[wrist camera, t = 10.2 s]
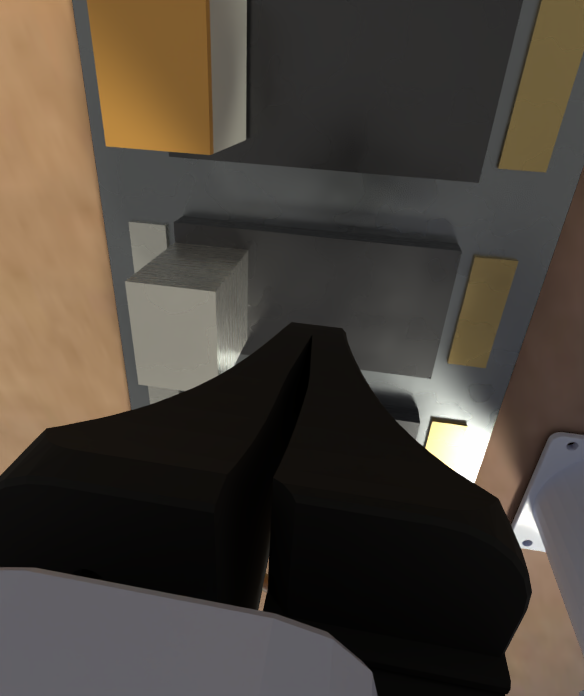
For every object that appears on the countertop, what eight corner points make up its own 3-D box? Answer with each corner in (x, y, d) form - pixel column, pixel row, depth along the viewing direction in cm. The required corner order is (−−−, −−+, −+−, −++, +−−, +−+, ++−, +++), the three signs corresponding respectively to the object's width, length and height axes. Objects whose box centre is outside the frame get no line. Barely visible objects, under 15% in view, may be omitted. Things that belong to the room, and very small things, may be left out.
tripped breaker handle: (246, -5, 14) (204, -33, 11) (246, 139, 16) (210, 155, 13) (151, -9, 14) (81, -38, 11) (162, 133, 16) (106, 146, 13)
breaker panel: (642, -57, 14) (819, -151, 8) (457, 503, 26) (479, 619, 20) (80, -73, 16) (-79, -157, 10) (148, 454, 28) (91, 547, 22)
